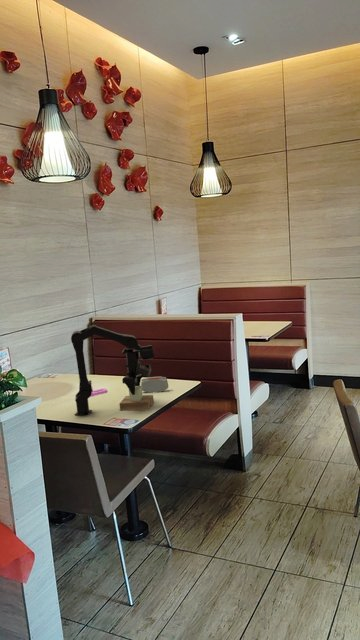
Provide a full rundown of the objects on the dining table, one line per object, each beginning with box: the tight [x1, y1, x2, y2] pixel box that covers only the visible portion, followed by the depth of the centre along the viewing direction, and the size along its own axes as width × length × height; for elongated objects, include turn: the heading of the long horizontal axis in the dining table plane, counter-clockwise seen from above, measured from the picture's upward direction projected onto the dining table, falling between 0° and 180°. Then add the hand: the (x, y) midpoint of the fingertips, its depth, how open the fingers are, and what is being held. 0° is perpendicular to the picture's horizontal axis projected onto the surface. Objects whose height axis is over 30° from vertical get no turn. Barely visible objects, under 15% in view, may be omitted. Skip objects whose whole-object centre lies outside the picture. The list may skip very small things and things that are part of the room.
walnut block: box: [119, 394, 155, 411], centre depth 250 cm, size 12×14×4 cm
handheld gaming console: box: [140, 376, 169, 394], centre depth 272 cm, size 14×3×8 cm, turn 88°
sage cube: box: [128, 385, 144, 401], centre depth 250 cm, size 5×5×6 cm
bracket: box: [89, 388, 108, 398], centre depth 278 cm, size 13×6×7 cm, turn 122°
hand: (135, 392), depth 250 cm, fingers open, 7 cm apart
